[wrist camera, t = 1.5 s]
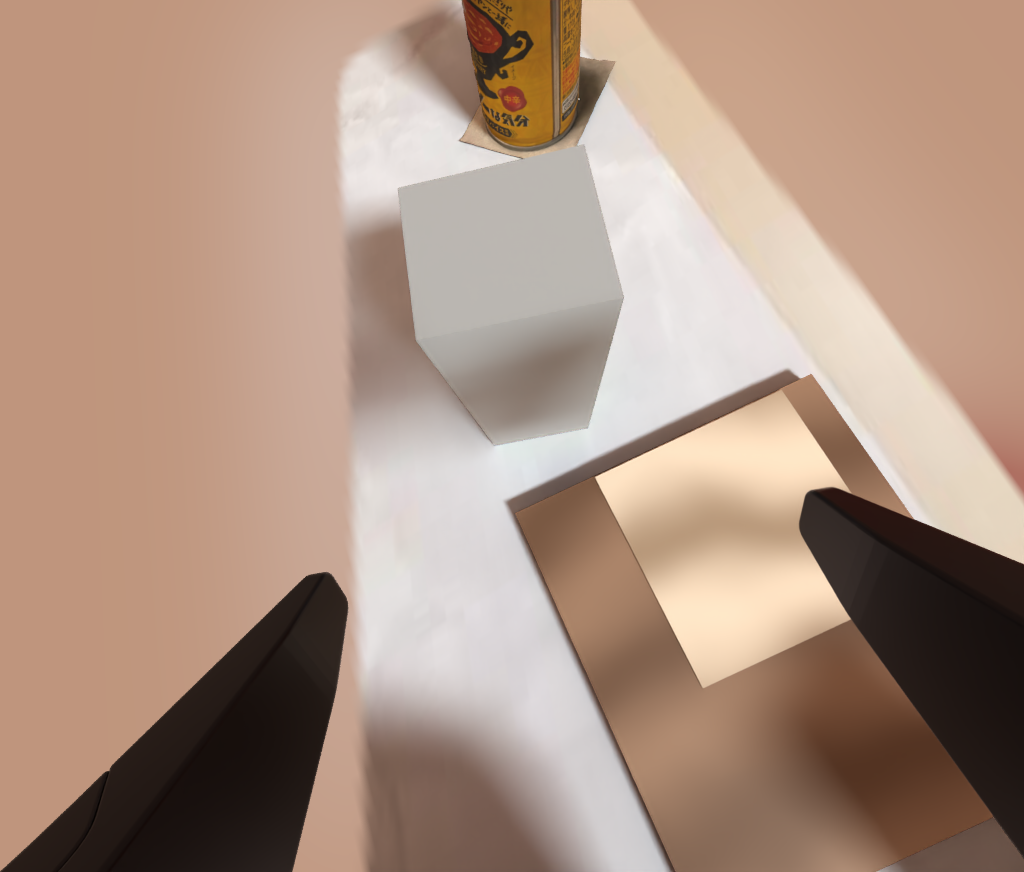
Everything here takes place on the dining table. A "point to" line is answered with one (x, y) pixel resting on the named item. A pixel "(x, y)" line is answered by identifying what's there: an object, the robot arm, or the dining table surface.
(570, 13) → the condiment
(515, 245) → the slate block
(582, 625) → the brown square board
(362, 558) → the dining table surface
